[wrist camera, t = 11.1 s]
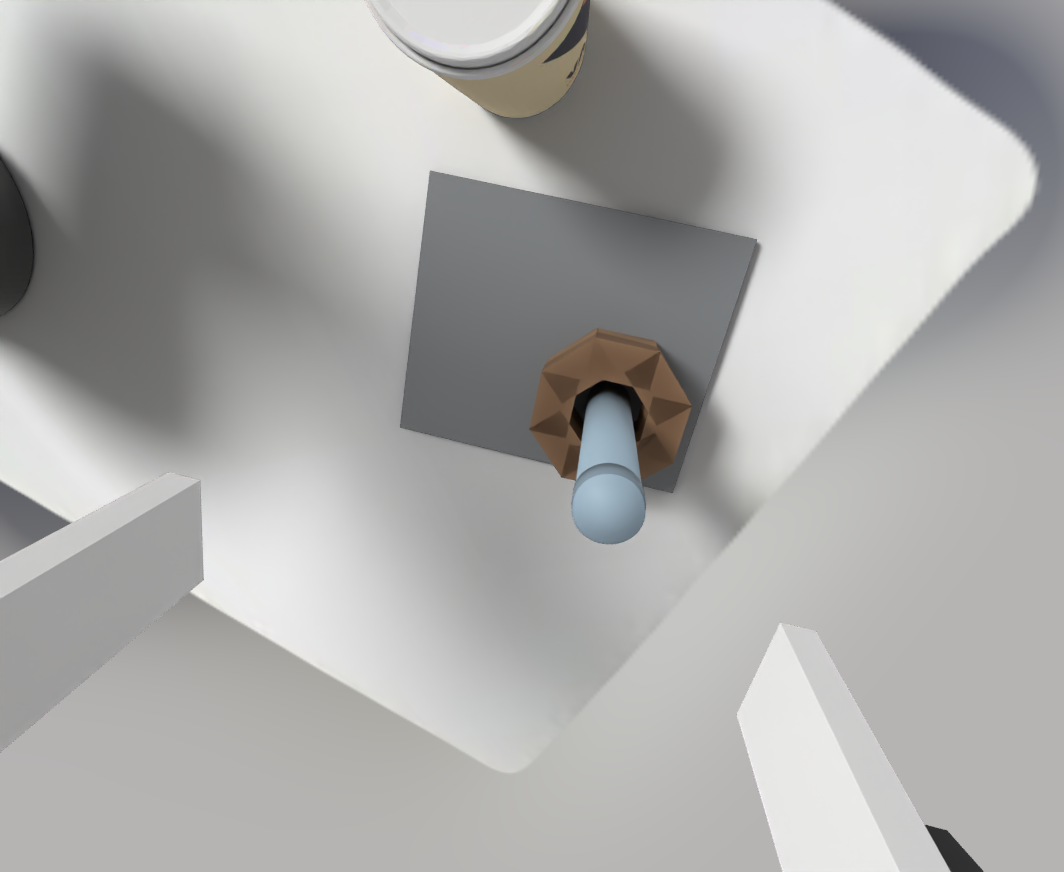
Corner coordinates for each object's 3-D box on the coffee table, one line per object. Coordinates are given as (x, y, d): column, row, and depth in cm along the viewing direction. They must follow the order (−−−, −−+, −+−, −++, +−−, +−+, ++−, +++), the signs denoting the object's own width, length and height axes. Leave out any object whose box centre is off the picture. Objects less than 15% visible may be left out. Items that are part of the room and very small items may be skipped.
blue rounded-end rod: (582, 415, 36) (563, 535, 21) (592, 375, 35) (580, 470, 20) (623, 425, 36) (635, 552, 21) (635, 384, 35) (655, 488, 20)
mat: (403, 424, 38) (400, 427, 38) (433, 172, 32) (430, 170, 32) (671, 489, 37) (672, 493, 37) (754, 239, 31) (757, 239, 31)
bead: (529, 445, 37) (520, 467, 33) (557, 318, 34) (550, 326, 30) (655, 475, 36) (661, 501, 33) (695, 349, 33) (706, 362, 30)
